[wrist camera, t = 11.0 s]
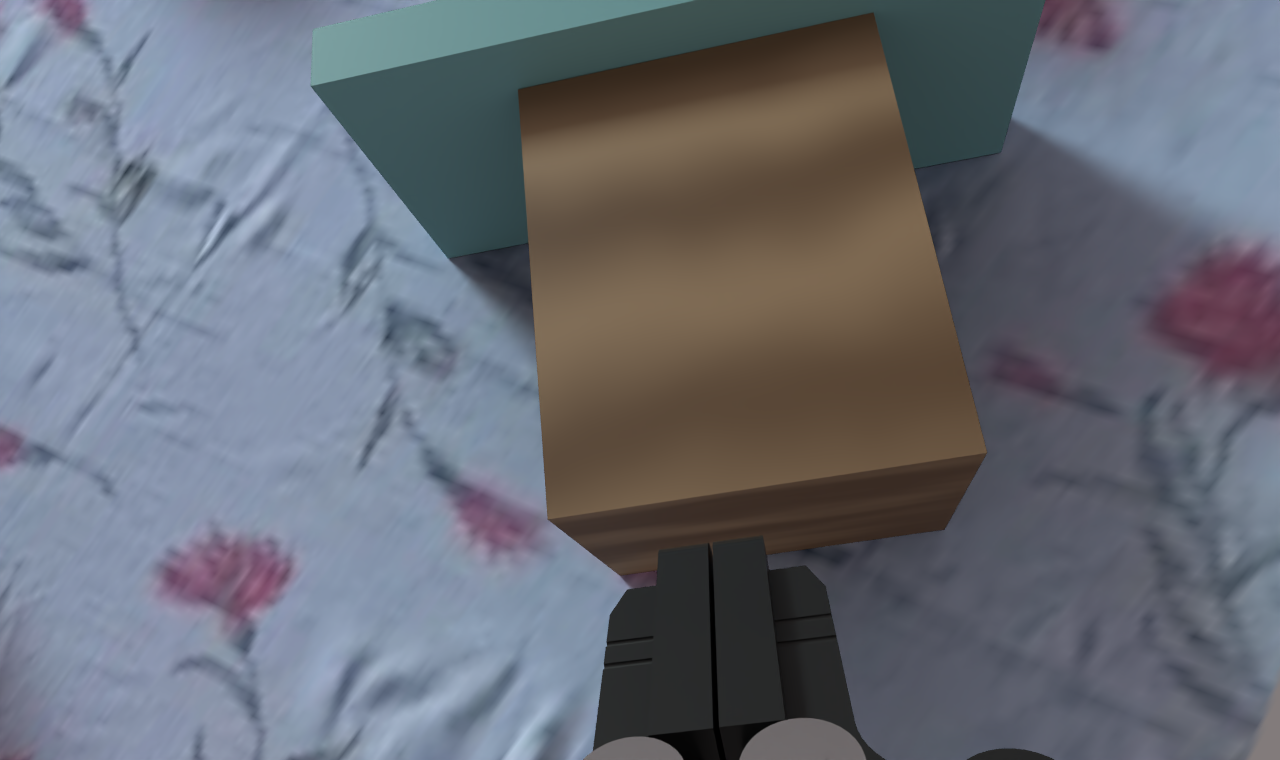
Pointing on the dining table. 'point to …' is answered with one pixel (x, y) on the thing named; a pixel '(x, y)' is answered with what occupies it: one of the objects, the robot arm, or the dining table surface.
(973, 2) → the teal board
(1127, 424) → the dining table surface
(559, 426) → the walnut block
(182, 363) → the dining table surface
